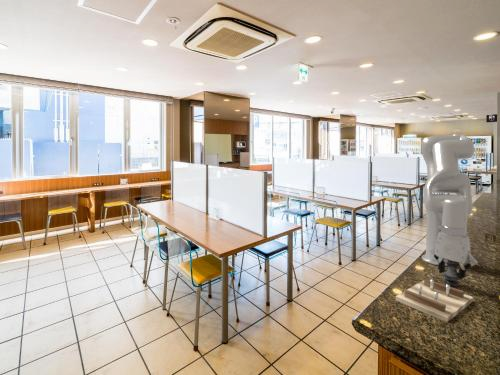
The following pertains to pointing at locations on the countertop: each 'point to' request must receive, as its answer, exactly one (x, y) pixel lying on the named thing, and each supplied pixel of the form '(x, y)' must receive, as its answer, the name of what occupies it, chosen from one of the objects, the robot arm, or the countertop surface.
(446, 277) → the weathered chess pawn
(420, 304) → the pin stand
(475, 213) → the countertop surface
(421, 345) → the countertop surface
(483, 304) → the countertop surface
